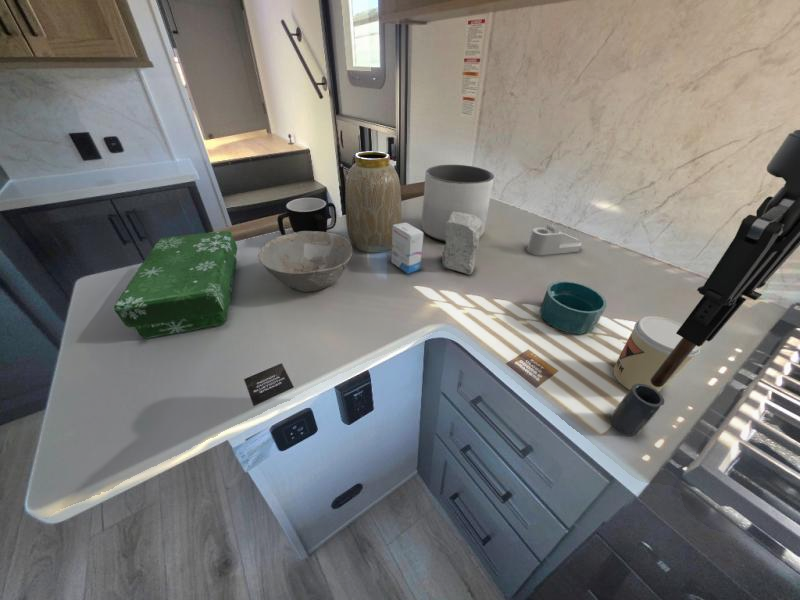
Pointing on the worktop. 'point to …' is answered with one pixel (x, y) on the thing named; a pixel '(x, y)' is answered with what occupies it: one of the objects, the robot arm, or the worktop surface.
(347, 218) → the vase
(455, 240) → the decorative stone
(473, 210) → the planter
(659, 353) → the coffee cup
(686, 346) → the stick
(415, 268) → the ink box
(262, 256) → the ceramic bowl
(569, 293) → the teal bowl
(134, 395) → the worktop surface
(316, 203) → the mug
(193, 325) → the box
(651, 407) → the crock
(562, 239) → the grey mounting bracket
